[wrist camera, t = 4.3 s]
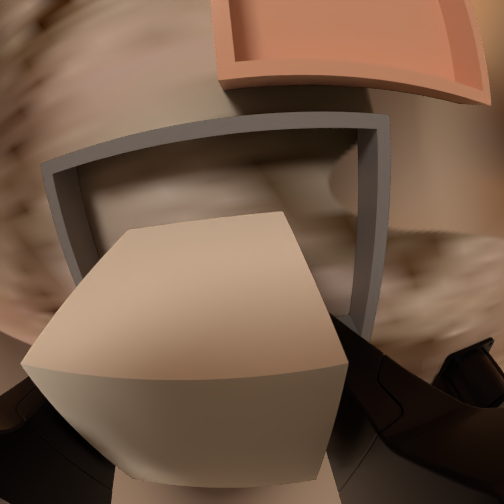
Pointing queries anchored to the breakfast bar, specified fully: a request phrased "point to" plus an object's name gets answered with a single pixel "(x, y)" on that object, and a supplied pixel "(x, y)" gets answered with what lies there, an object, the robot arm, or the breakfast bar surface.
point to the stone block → (198, 356)
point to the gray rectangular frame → (368, 132)
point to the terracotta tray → (353, 46)
